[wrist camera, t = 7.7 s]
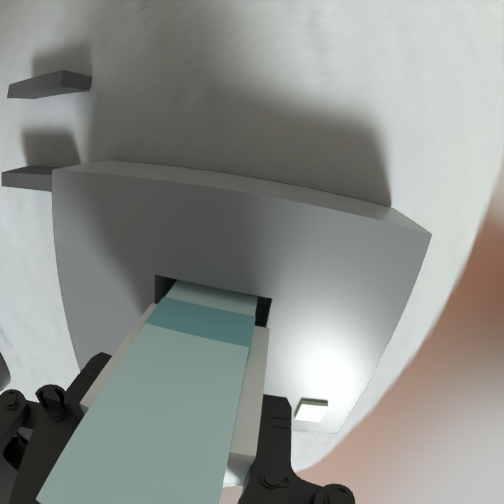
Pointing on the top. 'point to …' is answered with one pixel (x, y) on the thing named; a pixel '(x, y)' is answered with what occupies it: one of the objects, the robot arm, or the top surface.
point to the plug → (163, 408)
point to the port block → (239, 269)
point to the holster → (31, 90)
